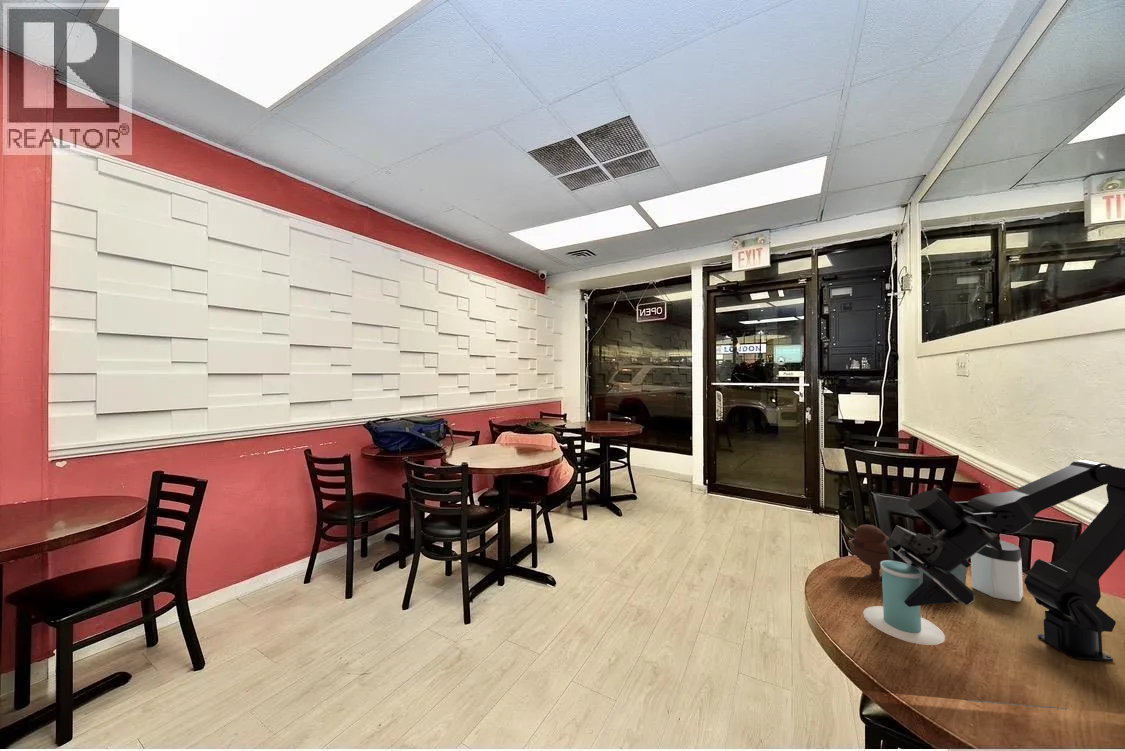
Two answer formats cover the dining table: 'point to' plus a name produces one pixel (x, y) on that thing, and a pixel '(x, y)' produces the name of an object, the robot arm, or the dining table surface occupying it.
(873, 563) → the ice cream bowl
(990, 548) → the jar
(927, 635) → the cream saucer
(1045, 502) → the robot arm
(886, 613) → the teal canister
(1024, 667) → the dining table surface
